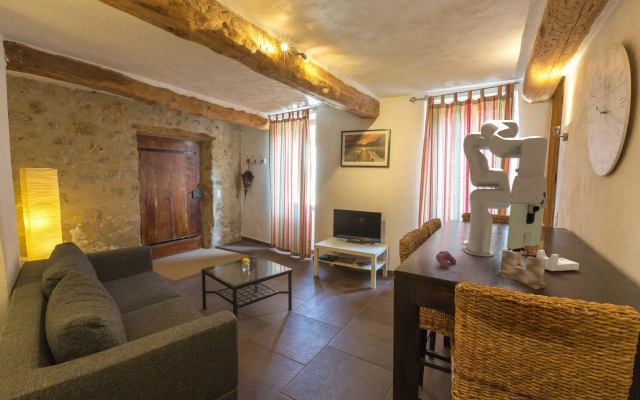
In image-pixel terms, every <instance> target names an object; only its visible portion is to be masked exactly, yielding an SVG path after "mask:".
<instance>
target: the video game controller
mask: <svg viewBox="0 0 640 400" xmlns="http://www.w3.org/2000/svg"><path fill="white" fill-rule="evenodd" d="M435 260H436V261H437V263H438V264H439V265H440V266H441V267H443V269H447V270H448V269H449V268H450V264H449V263H451V264H452V265H456V264H457V260H456V258H455V257H453V256H452V254H451V253H450V252H448V250H446V251H445V250H441V251H439V252H438V253H437V254H436V255H435Z"/></svg>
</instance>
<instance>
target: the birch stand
mask: <svg viewBox="0 0 640 400" xmlns="http://www.w3.org/2000/svg"><path fill="white" fill-rule="evenodd" d="M517 260H518V253H517V252H513V251H512V250H507V249H502V251H501V259H500V269H499V271H497V276H499V277H502V278H504V279H505V278H508V279H511V280H514V281H517V282H520V283H522V284H525V285H526V286H527V287H528V286H529V287H528V288H531V287H532V288H531V289H535V290H539V289H543V288H545V287H546V282H544V276H545V270H546V269H545V260H542V259H539V258H537V257H535V256H532V255H529V256H527V257H526V265H525V267H524V266H523V267H522V266H517Z"/></svg>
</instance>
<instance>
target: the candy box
mask: <svg viewBox="0 0 640 400" xmlns="http://www.w3.org/2000/svg"><path fill="white" fill-rule="evenodd" d="M545 231H546V225H545V224H544V223H542V226H541V236H540V245H535V246H527V245H524V243H525V233H524V238H523V247H524V249H525V250H526V253H527V254H526V255H527V256H534V257H535V256H536V257H537V250H544V242H545V236H546V235H545V233H546V232H545ZM521 255H525V254H524V252H523V251H522V250H521Z"/></svg>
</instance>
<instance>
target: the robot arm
mask: <svg viewBox="0 0 640 400" xmlns="http://www.w3.org/2000/svg"><path fill="white" fill-rule="evenodd" d="M518 133H519V125H518V124H517V122H515V120H507V119H506V120H503V119H501V120H499V119H498V120H494V119H493V120H488V121H486V122H485V123H483V124H482V126H481V127H480V131H479V132H471V133H469V134H467V135H465V137H464V138H463V148H462V149H463V152H464V155H465V157H466V160H467V163H468V170H469V180H470V183H471V185H472V186H473V187H475V188H476V189H473V190H472V191H471V192H470V194H469V204H470V219H469V230H468V240H463V242H462V243H461V245H463V246H465V248H464V249H463V250H464V252H465V253H466V254H469V255H472V256H477V257H484V258H485V257H486V258H487V257H492V256H494V254H495V253H494V251H492V250H491V243H492V234H493V233H492V230H493V222H494V221H493V215H492V214H491V212H490V211H489V210H490V209H491V210H505V209H508V208H510V207H511V204H515V203H524V204H530V205H529V213H527V221H526V224H533V222H534V219H535V213H537V211H539V210H540V209H543V210H544V209H547V208H548V203H547V198H548V184H547V177H546V176H545V169H546V160H547V153H548V152H547V150H548V142H549V141H548V138H547V137H546V136H528V137H523V138H522V137H517V135H518ZM516 137H517V138H516ZM480 150H481V151H480ZM483 150H484V151H485V150H486V151H487V150H488V151H489V152H490V153H491V154H493V155H494V156H495V157H497V158H500V159H519V160H518V167H517V168H516V169H515V170H514V171H515V173H517V175H515V176H514V178H513V181H512V185H511V186H510V181H509V175H508V173H507V171H506V170H504V169H502V168H497V167H496V168H493V167H492V168H491V167H490V166H489V161H488V158H487V156H486V155H485V154H484V153H483V152H482V151H483ZM538 204H541V205H540V206H538Z"/></svg>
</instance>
